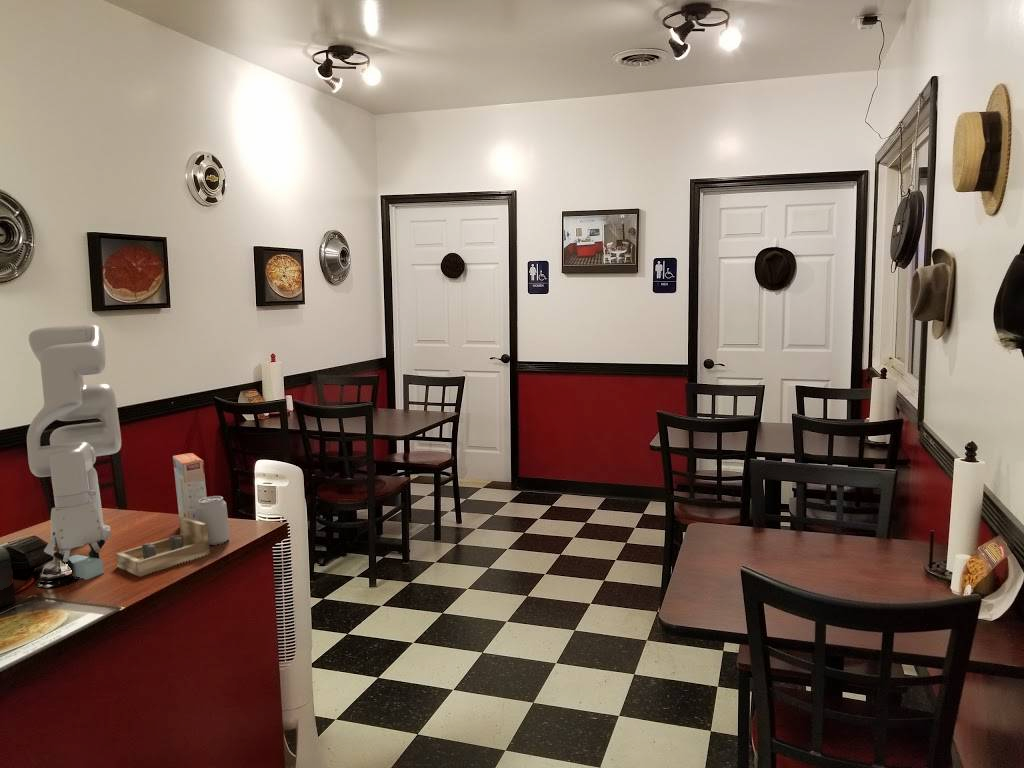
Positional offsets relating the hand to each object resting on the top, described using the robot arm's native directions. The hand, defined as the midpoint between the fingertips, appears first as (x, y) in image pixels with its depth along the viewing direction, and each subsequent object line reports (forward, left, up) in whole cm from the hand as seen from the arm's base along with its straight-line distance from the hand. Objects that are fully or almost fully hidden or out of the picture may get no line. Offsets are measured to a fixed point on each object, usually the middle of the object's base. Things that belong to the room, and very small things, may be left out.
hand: (82, 571), depth 193 cm
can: (+7, +31, -1) cm, 32 cm away
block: (0, 0, -1) cm, 1 cm away
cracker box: (-9, +34, -1) cm, 35 cm away
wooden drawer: (+9, +16, -1) cm, 18 cm away
